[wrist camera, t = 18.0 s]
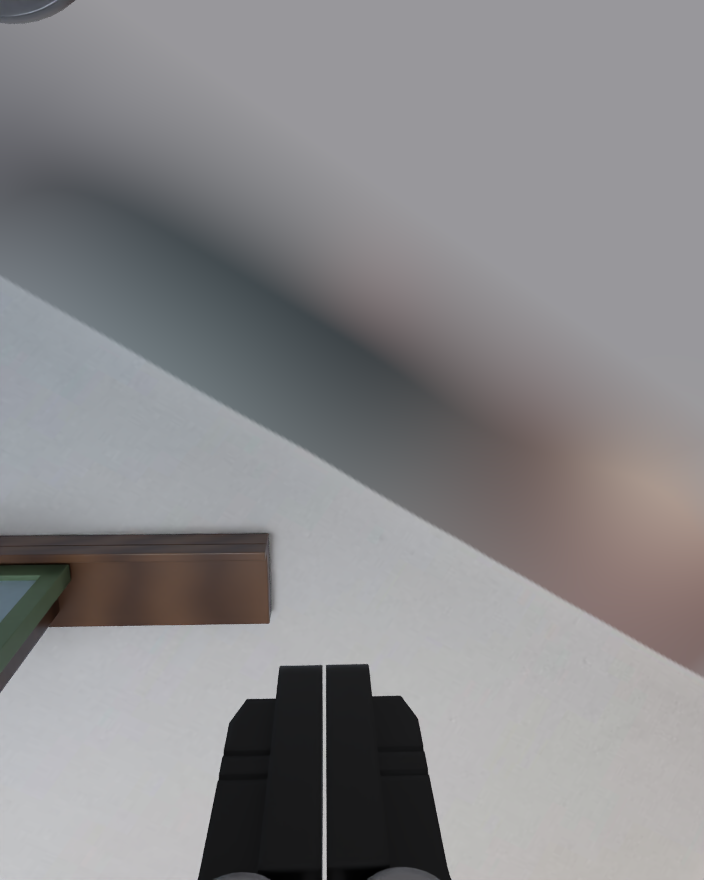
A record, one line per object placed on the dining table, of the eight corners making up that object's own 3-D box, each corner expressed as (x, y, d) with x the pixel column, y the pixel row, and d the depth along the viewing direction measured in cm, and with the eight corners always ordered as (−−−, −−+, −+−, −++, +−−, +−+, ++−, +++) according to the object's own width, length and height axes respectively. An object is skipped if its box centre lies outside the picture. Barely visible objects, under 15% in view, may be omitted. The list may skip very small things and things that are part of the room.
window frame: (268, 533, 41) (233, 713, 25) (271, 611, 43) (240, 825, 27) (-149, 537, 40) (-462, 729, 24) (-129, 617, 42) (-407, 845, 26)
